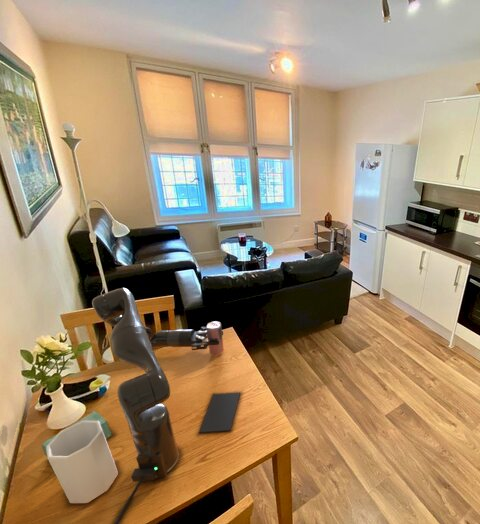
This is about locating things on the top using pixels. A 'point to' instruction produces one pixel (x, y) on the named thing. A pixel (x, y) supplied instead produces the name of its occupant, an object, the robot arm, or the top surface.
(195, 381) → the top surface
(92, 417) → the box
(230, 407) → the mat
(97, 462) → the cup
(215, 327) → the beverage can
